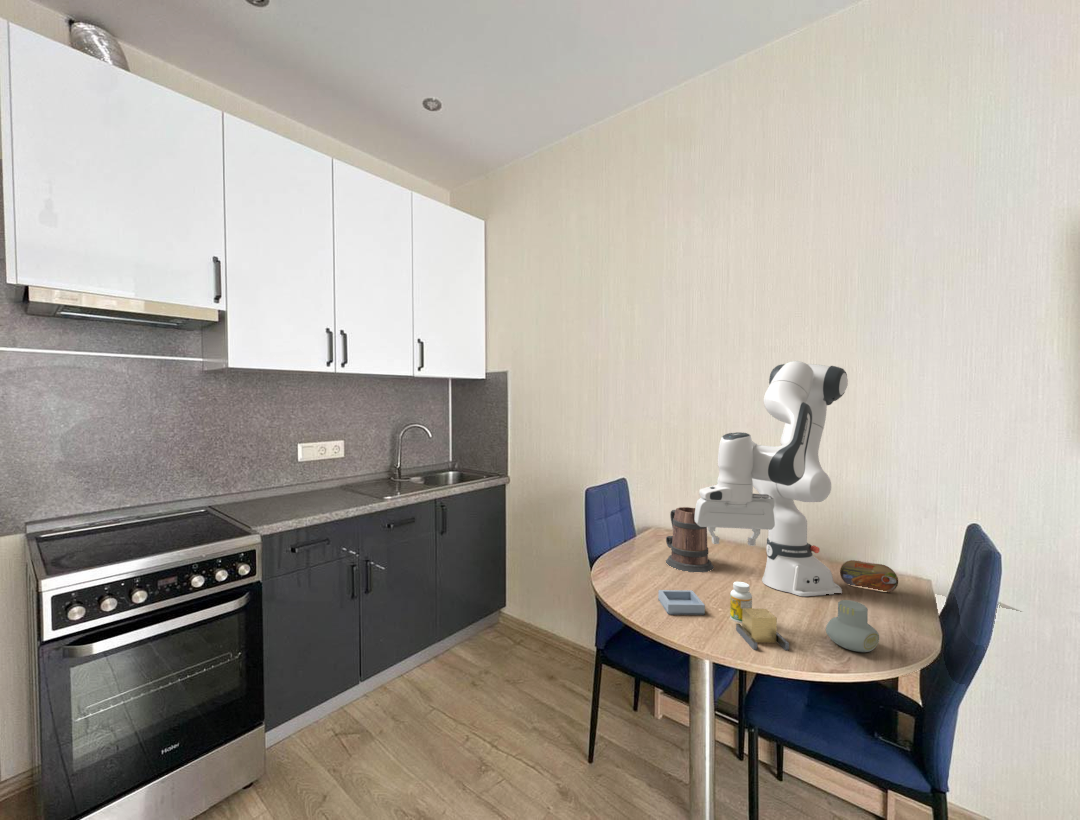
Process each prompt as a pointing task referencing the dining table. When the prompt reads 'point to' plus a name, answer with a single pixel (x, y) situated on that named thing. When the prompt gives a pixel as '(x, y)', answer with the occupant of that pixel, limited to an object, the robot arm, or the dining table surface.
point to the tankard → (688, 542)
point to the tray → (681, 602)
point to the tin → (869, 575)
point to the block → (760, 624)
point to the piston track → (753, 643)
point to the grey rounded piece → (852, 627)
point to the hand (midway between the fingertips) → (733, 544)
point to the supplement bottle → (739, 600)
